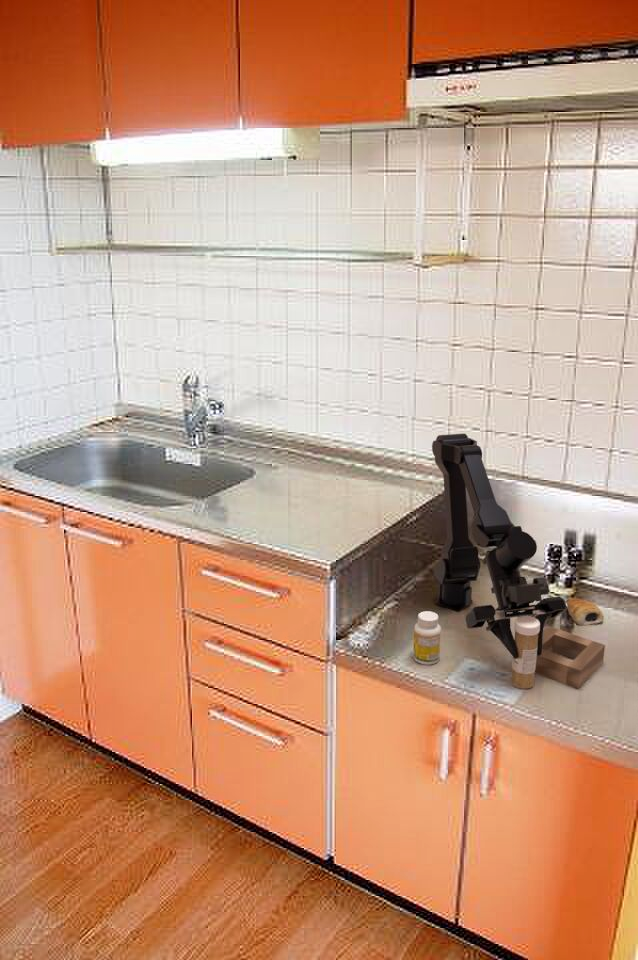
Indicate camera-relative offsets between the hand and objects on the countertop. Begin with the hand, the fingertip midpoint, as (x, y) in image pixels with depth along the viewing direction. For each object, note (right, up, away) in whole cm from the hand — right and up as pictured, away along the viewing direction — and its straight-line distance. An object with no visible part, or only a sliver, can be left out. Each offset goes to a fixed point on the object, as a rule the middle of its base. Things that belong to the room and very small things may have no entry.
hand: (528, 656), depth 147 cm
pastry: (+20, +2, +28) cm, 34 cm away
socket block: (+9, -4, +9) cm, 14 cm away
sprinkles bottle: (0, -6, +4) cm, 7 cm away
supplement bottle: (-17, -3, +12) cm, 21 cm away
